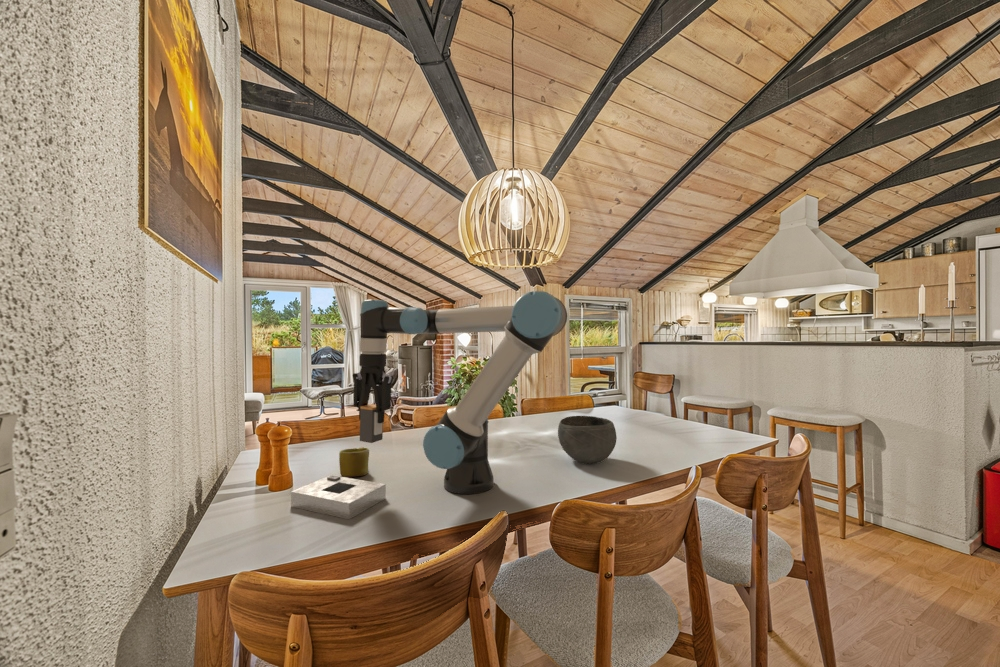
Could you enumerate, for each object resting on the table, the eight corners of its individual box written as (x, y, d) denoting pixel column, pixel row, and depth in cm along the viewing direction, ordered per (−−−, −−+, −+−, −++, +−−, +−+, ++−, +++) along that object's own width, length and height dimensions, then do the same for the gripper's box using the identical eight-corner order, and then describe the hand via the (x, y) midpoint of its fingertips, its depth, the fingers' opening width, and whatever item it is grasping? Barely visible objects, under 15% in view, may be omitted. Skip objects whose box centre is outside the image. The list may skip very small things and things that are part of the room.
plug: (382, 439, 119) (383, 405, 119) (371, 443, 115) (372, 408, 115) (370, 437, 121) (371, 404, 121) (359, 440, 117) (360, 406, 117)
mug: (362, 475, 127) (356, 443, 129) (334, 483, 129) (329, 452, 131) (383, 470, 138) (377, 441, 141) (357, 478, 140) (352, 449, 143)
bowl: (580, 450, 161) (580, 412, 162) (628, 462, 146) (628, 420, 146) (545, 461, 147) (545, 419, 147) (594, 475, 132) (594, 429, 132)
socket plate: (385, 498, 114) (385, 482, 114) (349, 519, 101) (349, 500, 101) (331, 488, 121) (331, 472, 121) (290, 506, 108) (290, 489, 108)
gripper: (405, 354, 118) (403, 434, 118) (360, 351, 125) (358, 426, 125) (388, 355, 111) (385, 439, 111) (341, 352, 119) (339, 431, 119)
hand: (371, 432), depth 118 cm, fingers closed on plug, 4 cm apart
